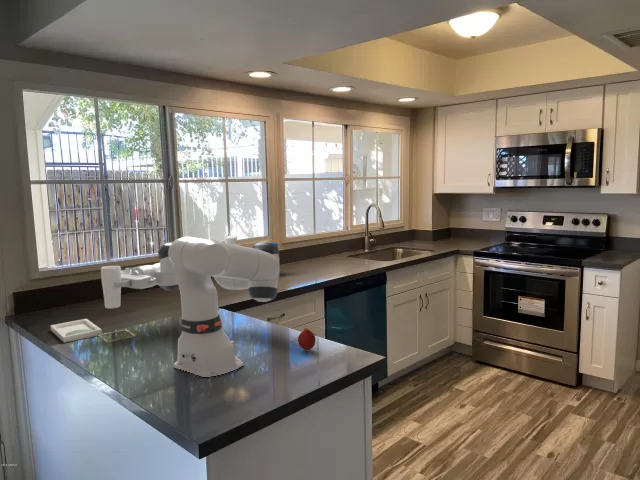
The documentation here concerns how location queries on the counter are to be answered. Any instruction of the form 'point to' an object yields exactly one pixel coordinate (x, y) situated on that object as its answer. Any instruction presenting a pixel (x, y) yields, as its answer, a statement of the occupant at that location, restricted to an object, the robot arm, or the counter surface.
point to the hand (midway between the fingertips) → (109, 284)
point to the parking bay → (116, 339)
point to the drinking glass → (111, 286)
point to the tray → (75, 330)
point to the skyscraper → (230, 239)
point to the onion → (306, 339)
